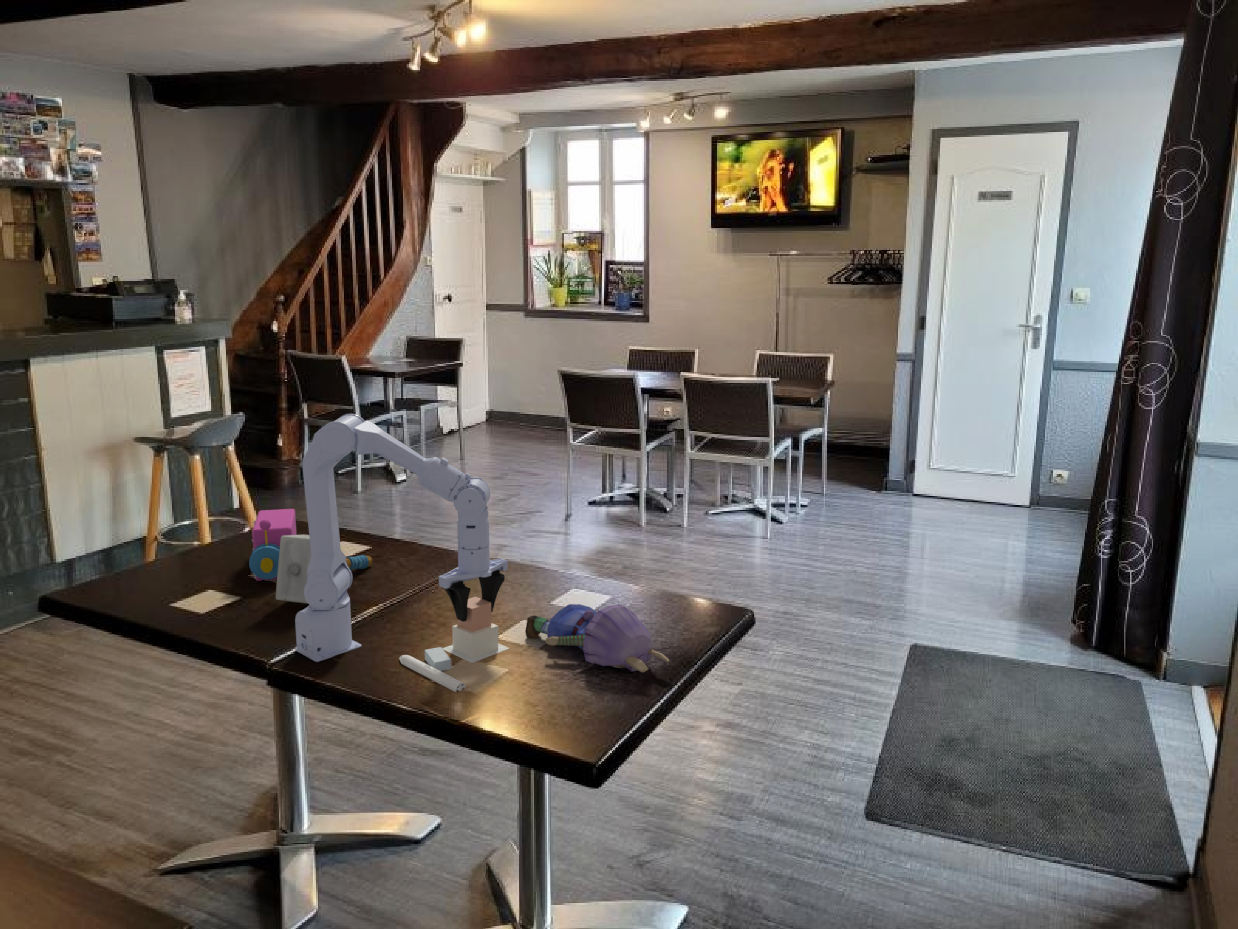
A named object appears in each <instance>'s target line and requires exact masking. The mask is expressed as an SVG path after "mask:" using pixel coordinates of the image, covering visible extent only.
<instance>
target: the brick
mask: <svg viewBox="0 0 1238 929" xmlns="http://www.w3.org/2000/svg"><path fill="white" fill-rule="evenodd" d="M442 648H443V647H442V646H438V647H434V648H428V649H427V648H426V649H424V661H426V664H428V665H429V666H431V667H433V668H435V669H437V670H439V671H441V672H443V671H448V670H452V659H451V657H450V656H449V655H448V654H447V653H446V651H445V650H443V649H442Z"/></svg>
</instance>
